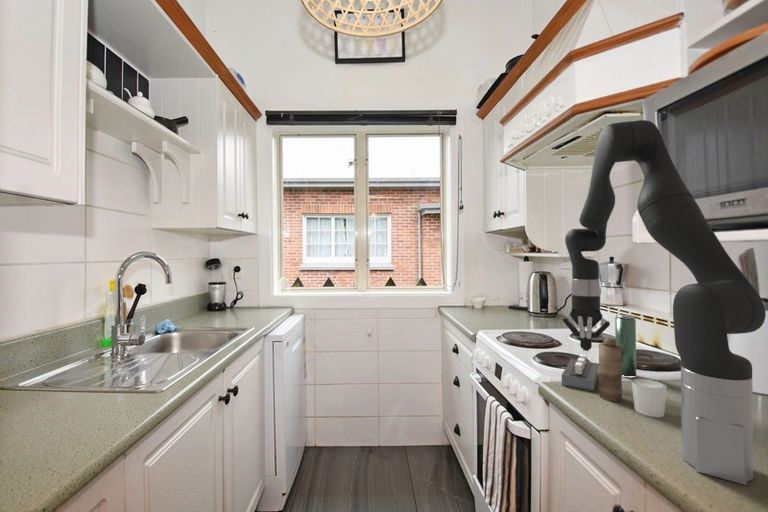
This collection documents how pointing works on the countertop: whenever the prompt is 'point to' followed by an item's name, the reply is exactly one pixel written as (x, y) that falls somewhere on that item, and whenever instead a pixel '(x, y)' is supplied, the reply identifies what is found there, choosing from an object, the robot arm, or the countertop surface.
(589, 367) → the switch box
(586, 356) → the far paddle
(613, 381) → the pepper mill
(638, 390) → the white cup
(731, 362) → the robot arm
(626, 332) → the green tin
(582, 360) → the middle paddle
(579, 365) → the near paddle
